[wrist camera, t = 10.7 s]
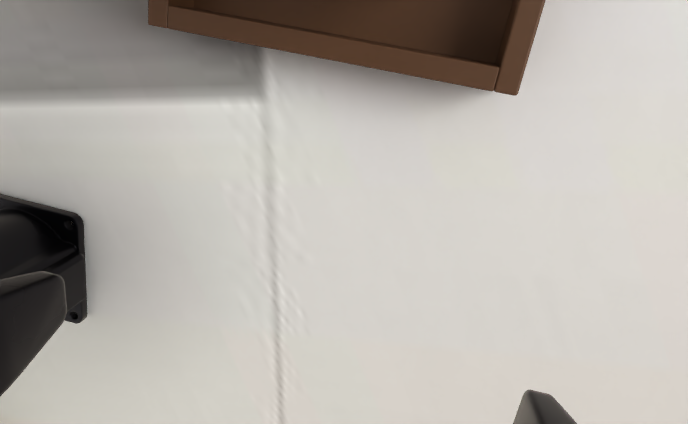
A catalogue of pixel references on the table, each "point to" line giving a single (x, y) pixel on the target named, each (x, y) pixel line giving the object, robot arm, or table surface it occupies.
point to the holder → (378, 33)
